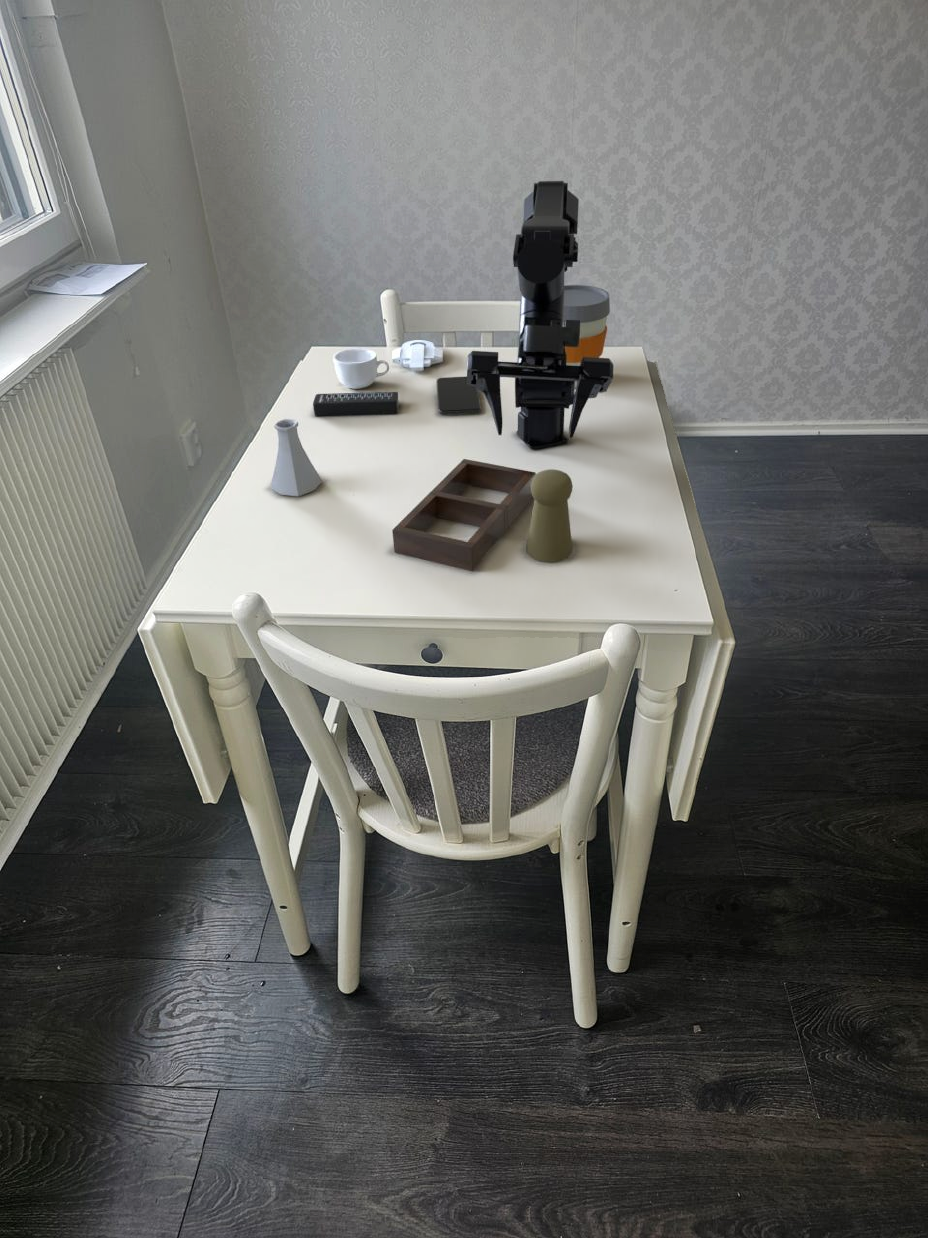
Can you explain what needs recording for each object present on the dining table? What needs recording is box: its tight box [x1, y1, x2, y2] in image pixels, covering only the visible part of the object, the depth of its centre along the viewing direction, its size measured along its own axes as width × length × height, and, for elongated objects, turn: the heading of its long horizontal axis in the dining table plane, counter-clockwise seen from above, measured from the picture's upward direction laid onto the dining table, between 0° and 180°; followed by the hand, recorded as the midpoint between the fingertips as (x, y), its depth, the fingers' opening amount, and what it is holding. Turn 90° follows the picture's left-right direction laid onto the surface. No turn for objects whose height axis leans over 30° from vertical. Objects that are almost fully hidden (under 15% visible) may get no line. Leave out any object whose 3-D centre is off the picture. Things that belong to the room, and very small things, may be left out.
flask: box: [270, 418, 322, 497], centre depth 125 cm, size 7×7×10 cm
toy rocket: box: [391, 339, 444, 372], centre depth 167 cm, size 16×10×2 cm, turn 1°
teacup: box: [333, 348, 390, 390], centre depth 157 cm, size 10×8×5 cm
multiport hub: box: [312, 391, 400, 417], centre depth 148 cm, size 4×14×2 cm, turn 90°
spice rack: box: [391, 458, 537, 572], centre depth 117 cm, size 22×11×4 cm, turn 155°
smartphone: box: [436, 375, 482, 416], centre depth 152 cm, size 7×1×15 cm
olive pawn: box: [525, 468, 574, 564], centre depth 108 cm, size 6×6×11 cm
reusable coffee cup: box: [563, 284, 611, 389], centre depth 153 cm, size 13×13×15 cm
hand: (535, 436), depth 111 cm, fingers open, 9 cm apart
